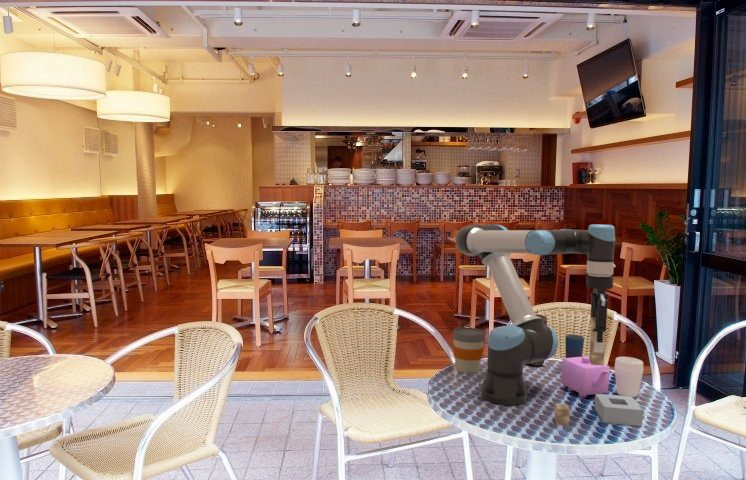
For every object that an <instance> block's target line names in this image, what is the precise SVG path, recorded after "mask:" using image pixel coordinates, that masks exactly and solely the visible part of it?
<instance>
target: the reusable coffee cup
mask: <svg viewBox="0 0 746 480" xmlns="http://www.w3.org/2000/svg"><path fill="white" fill-rule="evenodd" d="M485 333H486V332H485V331H484V330H482V329H480V328H476V327H475V328H474V327H467V326H466V327H456V328H454V329H453V332H452V337H451V338H452V340H453V341H452V342H453V343H452V350H453V351H452V352H453V353H452V354H453V357H454V363H455V369H456V370H457V371H459V372H462V373H467V374H468V373H470V374H471V373H472V374H473V373H478V372H479V371H480V367H481V366H480V364H481V360H482V359H483V355H484V349H485V346H484V344H485V343H484V342H485V340H486V336H485V335H486V334H485Z"/></svg>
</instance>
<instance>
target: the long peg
mask: <svg viewBox="0 0 746 480" xmlns="http://www.w3.org/2000/svg"><path fill="white" fill-rule="evenodd" d="M590 321H591V323H590V341H589V358H590V361H589V362H590V363H591V365H603V366H604V364H605V351H604V352H603V353H596V352H594V331H593V329H595V317H591V316H590ZM605 344H606V331H605V332H604V347H605Z"/></svg>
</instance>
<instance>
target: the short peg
mask: <svg viewBox="0 0 746 480" xmlns="http://www.w3.org/2000/svg"><path fill="white" fill-rule="evenodd" d="M554 406H555V407H554V408H555V409H554V421H555V424H556V425H559V426H560V425H561V426H569V425H570V411H571V409H570V406H569V405H568V404H561V403H559V404H558V403H555V405H554Z"/></svg>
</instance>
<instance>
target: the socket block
mask: <svg viewBox="0 0 746 480" xmlns="http://www.w3.org/2000/svg"><path fill="white" fill-rule="evenodd" d="M594 396H595V398H594V410H595V412H596V414H597V415H598V417H599V418H600V420H601V422H602V423H603V424H611V425H622V426H623V425H624V426H634V427H642V426H643V416H644V415H643V414H644V410H643V409H642V407H641V406H640V405H639V403H638V402H637V401H636V400H635V399H634V397H630V396H622V395H619V394H618V395H616V394H615V395H614V394H606V393H600V394H595V395H594Z"/></svg>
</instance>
